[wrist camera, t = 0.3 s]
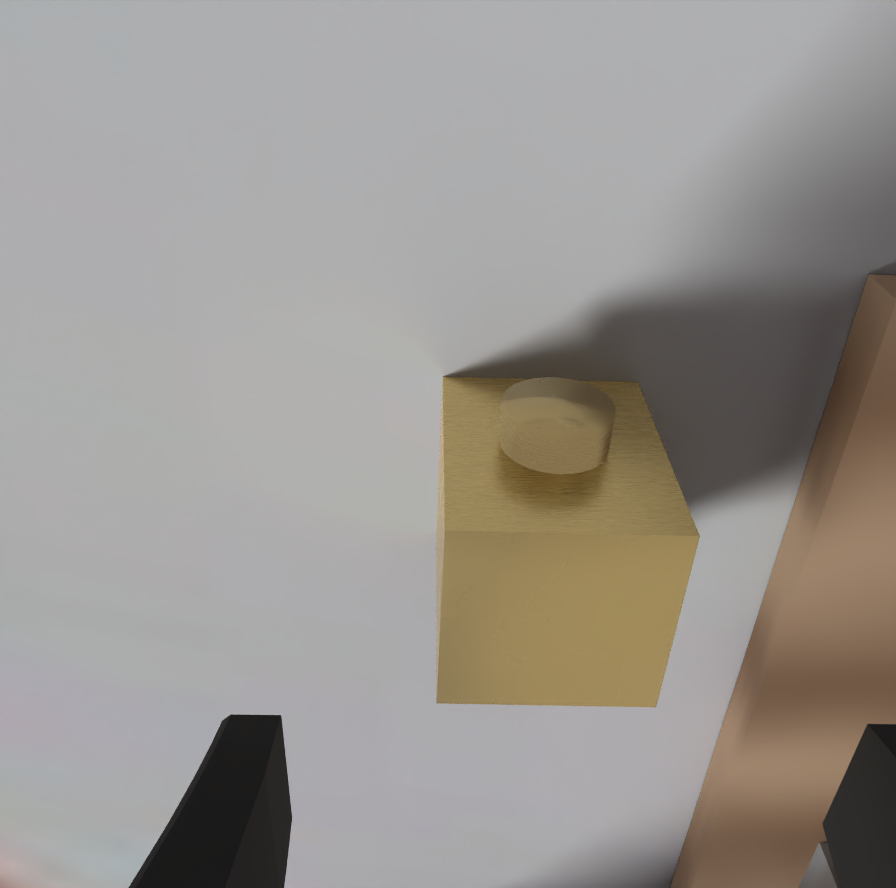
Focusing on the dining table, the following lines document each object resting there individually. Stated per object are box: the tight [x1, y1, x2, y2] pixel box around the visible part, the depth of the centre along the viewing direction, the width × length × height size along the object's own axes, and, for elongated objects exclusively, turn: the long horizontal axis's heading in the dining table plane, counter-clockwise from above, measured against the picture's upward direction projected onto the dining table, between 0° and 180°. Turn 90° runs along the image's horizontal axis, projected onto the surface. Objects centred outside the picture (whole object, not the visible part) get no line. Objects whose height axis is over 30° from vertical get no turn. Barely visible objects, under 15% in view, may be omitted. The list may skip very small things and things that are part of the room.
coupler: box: [437, 377, 700, 707], centre depth 17 cm, size 6×4×5 cm
